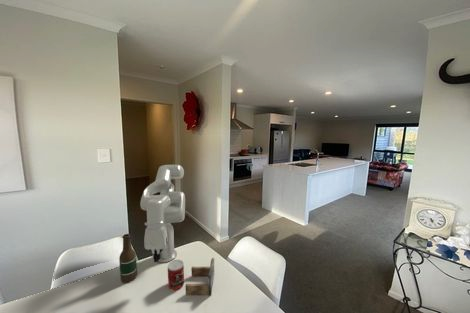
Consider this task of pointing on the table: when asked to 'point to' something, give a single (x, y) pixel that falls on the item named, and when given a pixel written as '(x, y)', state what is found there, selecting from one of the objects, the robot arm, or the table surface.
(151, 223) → the robot arm
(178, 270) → the canned food
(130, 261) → the beer bottle
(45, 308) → the table surface
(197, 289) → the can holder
